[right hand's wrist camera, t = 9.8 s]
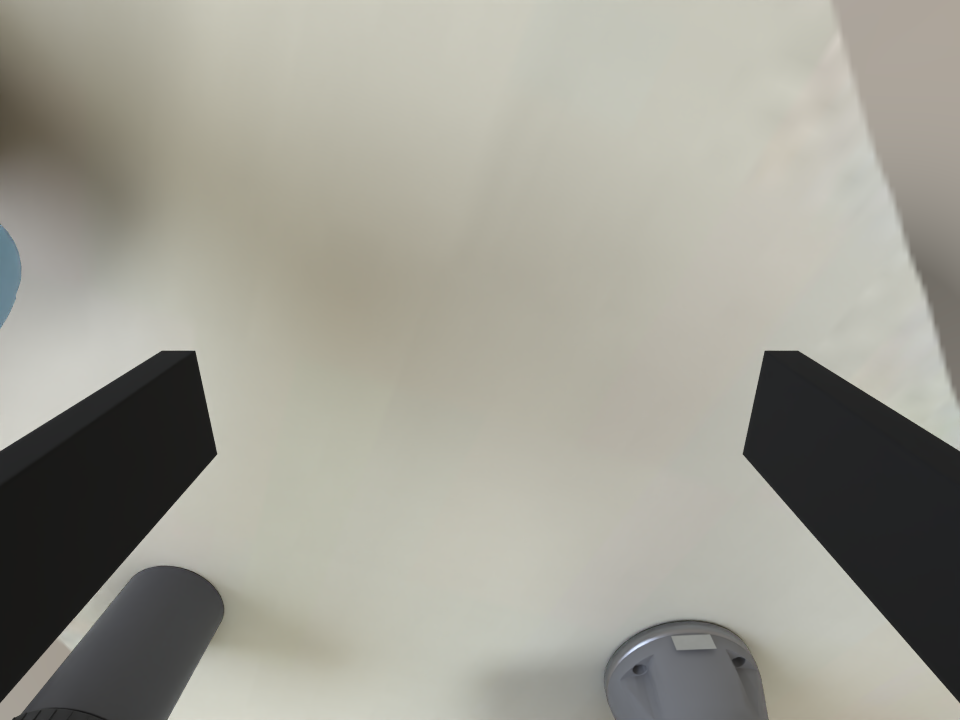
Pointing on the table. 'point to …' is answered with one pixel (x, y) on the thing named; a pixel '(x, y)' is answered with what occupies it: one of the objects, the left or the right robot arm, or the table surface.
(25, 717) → the lid
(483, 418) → the table surface
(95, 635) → the jar
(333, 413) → the table surface
